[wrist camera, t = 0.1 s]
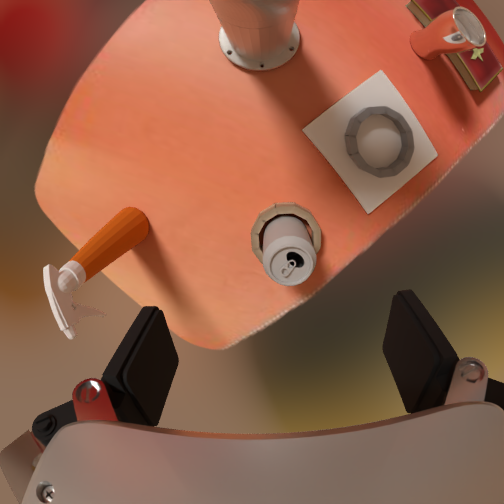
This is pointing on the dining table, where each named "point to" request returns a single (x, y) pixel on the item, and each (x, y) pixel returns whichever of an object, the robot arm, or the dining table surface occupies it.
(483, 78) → the hardcover book
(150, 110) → the dining table surface
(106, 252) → the spray bottle
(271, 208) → the stand ring
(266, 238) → the can
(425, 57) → the silver tumbler
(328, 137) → the holder
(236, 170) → the dining table surface
